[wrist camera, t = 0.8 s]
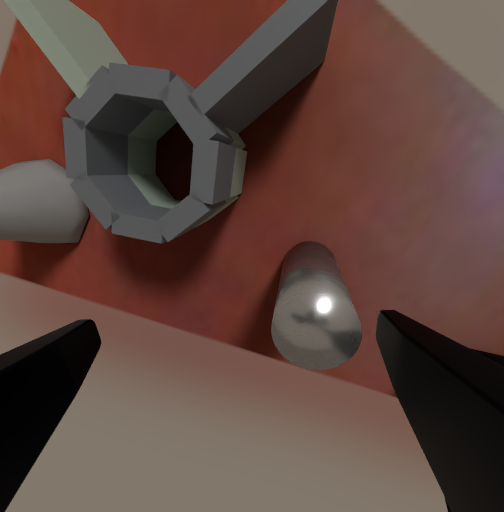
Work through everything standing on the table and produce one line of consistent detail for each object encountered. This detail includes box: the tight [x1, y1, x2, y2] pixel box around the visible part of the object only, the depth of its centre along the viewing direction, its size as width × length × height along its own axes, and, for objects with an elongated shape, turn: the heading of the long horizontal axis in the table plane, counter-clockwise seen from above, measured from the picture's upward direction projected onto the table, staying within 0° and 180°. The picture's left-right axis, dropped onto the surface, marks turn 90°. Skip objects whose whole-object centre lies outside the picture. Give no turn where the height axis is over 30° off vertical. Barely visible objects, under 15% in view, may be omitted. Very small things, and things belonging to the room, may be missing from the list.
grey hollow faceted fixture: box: [62, 0, 338, 244], centre depth 15 cm, size 15×8×7 cm, turn 126°
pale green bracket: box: [4, 0, 247, 227], centre depth 16 cm, size 15×8×7 cm, turn 36°
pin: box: [271, 241, 362, 370], centre depth 16 cm, size 4×4×9 cm
